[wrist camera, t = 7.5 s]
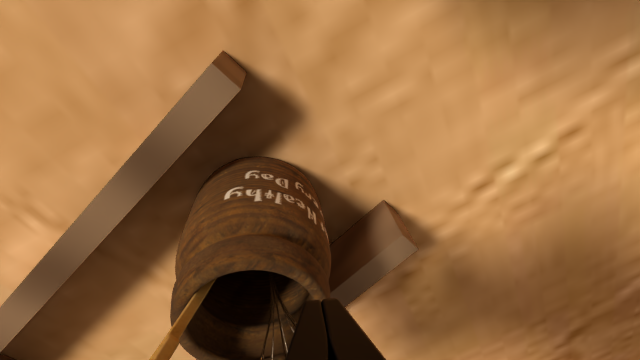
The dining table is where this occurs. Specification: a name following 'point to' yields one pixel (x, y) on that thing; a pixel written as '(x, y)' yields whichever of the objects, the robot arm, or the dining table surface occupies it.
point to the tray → (145, 170)
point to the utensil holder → (247, 263)
